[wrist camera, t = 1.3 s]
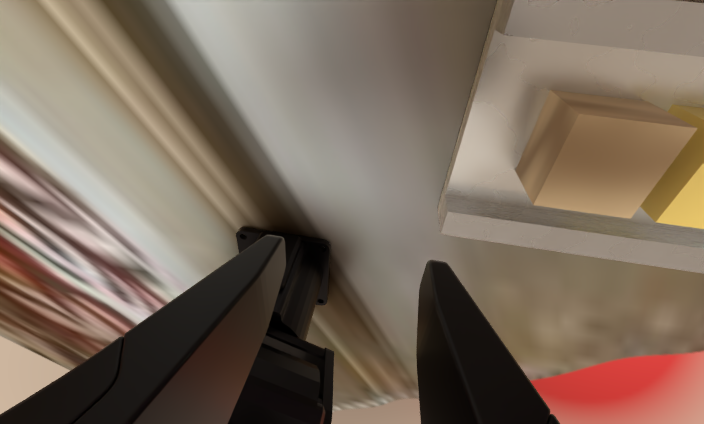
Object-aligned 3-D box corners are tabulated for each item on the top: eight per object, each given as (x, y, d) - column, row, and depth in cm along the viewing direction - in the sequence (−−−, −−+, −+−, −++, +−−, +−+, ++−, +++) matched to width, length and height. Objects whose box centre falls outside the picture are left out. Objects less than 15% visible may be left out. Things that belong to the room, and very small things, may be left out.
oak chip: (597, 182, 16) (630, 218, 14) (515, 171, 16) (533, 205, 14) (647, 101, 14) (697, 128, 11) (549, 89, 14) (578, 114, 12)
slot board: (684, 243, 19) (718, 275, 17) (437, 207, 20) (440, 234, 18) (889, 21, 12) (984, 31, 10) (502, -18, 13) (519, -15, 11)
